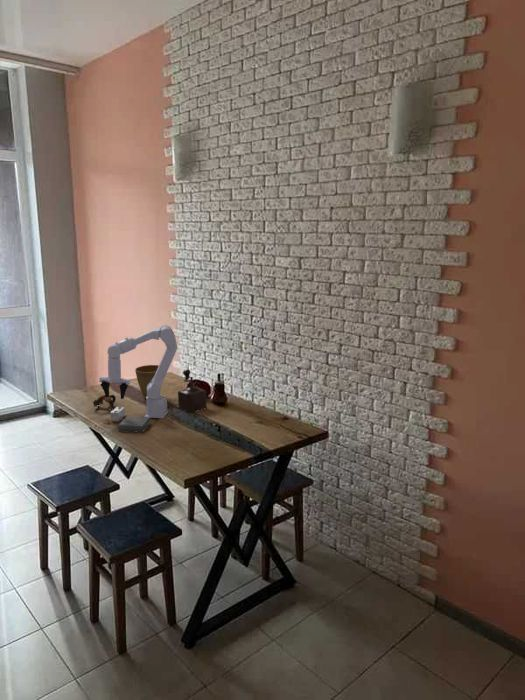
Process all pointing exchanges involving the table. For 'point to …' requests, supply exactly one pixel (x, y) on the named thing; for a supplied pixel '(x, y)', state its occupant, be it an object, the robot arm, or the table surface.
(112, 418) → the block
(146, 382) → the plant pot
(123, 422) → the stand
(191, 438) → the table surface
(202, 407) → the manual coffee grinder
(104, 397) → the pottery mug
